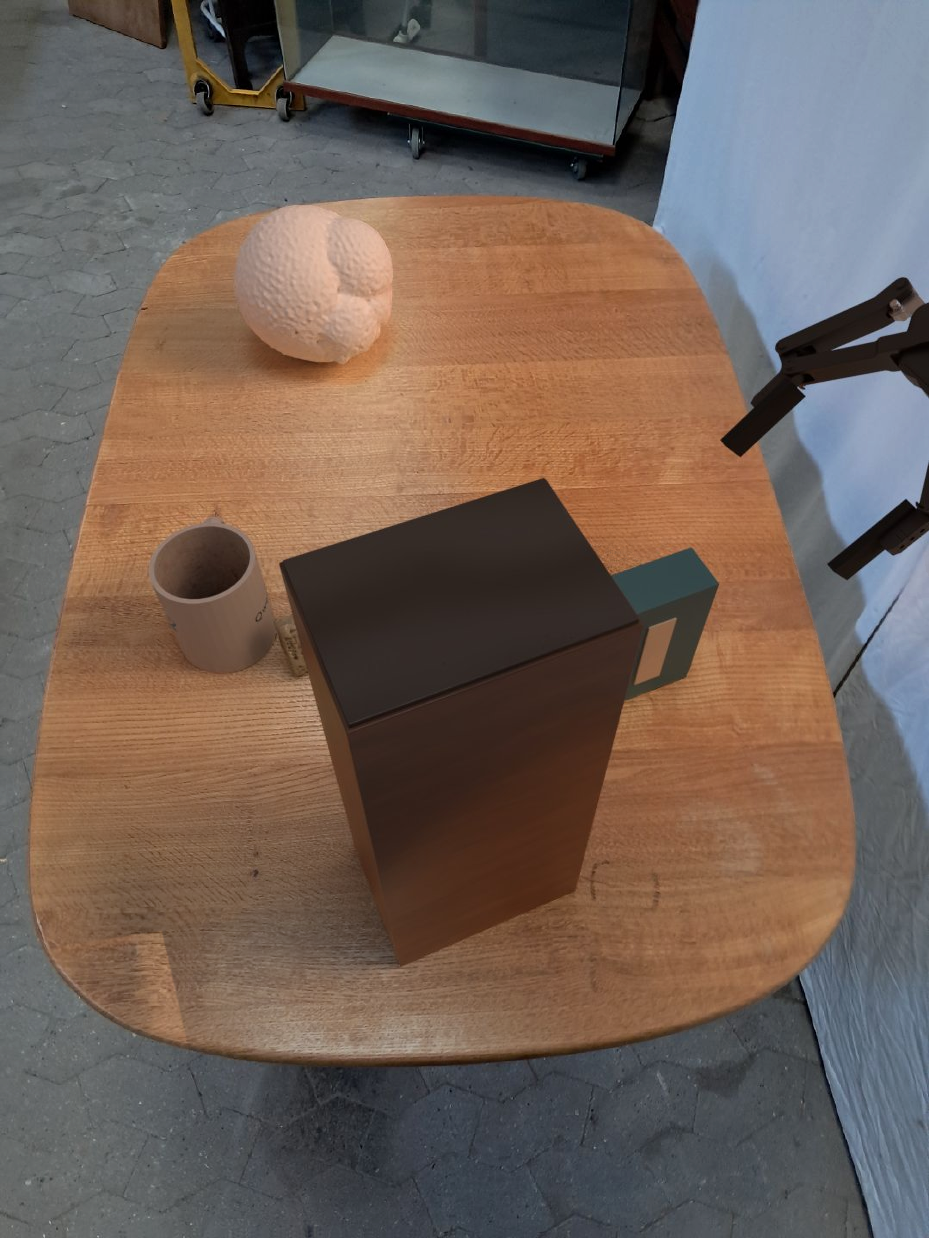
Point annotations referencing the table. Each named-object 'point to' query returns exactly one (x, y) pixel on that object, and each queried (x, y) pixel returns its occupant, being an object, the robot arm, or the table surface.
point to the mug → (214, 596)
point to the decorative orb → (314, 283)
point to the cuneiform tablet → (290, 644)
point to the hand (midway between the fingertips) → (780, 507)
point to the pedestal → (466, 705)
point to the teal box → (667, 616)
